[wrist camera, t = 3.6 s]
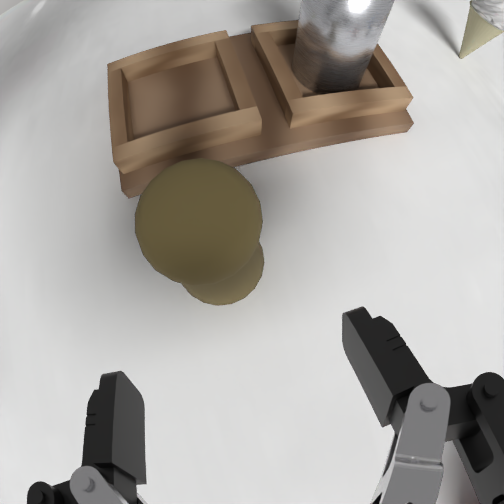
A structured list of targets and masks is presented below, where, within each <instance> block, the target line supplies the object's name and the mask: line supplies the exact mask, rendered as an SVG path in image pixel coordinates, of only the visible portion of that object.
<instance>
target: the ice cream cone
mask: <svg viewBox="0 0 504 504" xmlns="http://www.w3.org/2000/svg"><path fill="white" fill-rule="evenodd" d="M503 32H504V0H471V1H470V9H469V14H468V19H467V24H466V28H465V33H464V37H463V41H462V46H461V50H460V54H459V57H460V58H461V59H462V58H464V57H465V56H467V55H468V54H470V53H471V52H473V51H475V50H476V49H478V48H479V47H481V46H482V45H484V44H486V43H487V42H488V41H490V40H492V39H493V38H495V37H496V36H498V35H500V34H501V33H503Z"/></svg>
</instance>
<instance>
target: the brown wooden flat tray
mask: <svg viewBox="0 0 504 504" xmlns="http://www.w3.org/2000/svg"><path fill="white" fill-rule="evenodd" d="M298 22H299V20H294V21H284V22H275V23H267V24H260V25H253V26H251V33H247V34H242V35H236V36H231V37H229V36H228V34H227V31H226V30H224V31H219V32H214V33H210V34H205V35H201V36H196V37H192V38H188V39H184V40H181V41H177V42H173V43H170V44H166V45H163V46H159V47H156V48H153V49H149V50H146V51H143V52H140V53H137V54H134V55H131V56H128V57H125V58H123V59H120V60H117V61H114V62H112V63H109V64H107V67H108V99H109V117H110V131H111V143H112V154H113V162H114V164H115V165H116V166H117V167H118V168H119V174H120V182H121V189H122V192H123V193H124V194H125V195H126V196H127V197H128V198H131V197H134V196H137V195H140V194H142V193H143V192H144V190H145V188H146V187H147V185H148V184H149V182H150V181H151V180H152V179H153V178H154V177H156V176H157V175H158V174H159V173H160V172H162V171H163V170H164V169H165V168H167V167H169V166H172V165H174V164H176V163H178V162H181V161H184V160H191V159H198V158H204V159H210V160H217V161H220V162H223V163H225V164H227V165H229V166H231V167H236V166H240V165H244V164H248V163H252V162H256V161H260V160H265V159H269V158H273V157H277V156H282V155H286V154H290V153H295V152H300V151H304V150H309V149H314V148H318V147H323V146H328V145H333V144H339V143H344V142H349V141H355V140H360V139H366V138H372V137H378V136H384V135H391V134H397V133H404V132H407V131H408V130H409V129H410V128H411V126H412V125H413V124H414V123H413V121H412V119H411V117H410V115H409V113H408V112H407V110H406V108H407V106H408V105H409V103H410V102H411V100H412V99H413V96H412V95H411V93H410V91H409V90H408V88H407V86H406V85H405V83H404V82H403V80H402V79H401V77H400V75H399V74H398V72H397V71H396V69H395V68H394V66H393V65H392V63H391V62H390V61H389V59H388V58H387V56H386V55H385V53H384V52H383V51H382V49H381V48H380V46H379V45H378V44H377V45H376V47H375V50H374V52H373V54H372V57H371V59H370V62H369V64H368V66H367V69H366V71H365V73H364V76H363V78H362V80H361V83H360V85H359V87H358V88H357V90H355V91H347V92H339V93H331V94H324V95H321V94H318V93H315V92H313V91H311V90H309V89H307V88H306V87H304V86H303V85H302V84H301V83H300V82H299V81H298V80H297V79H296V77H295V76H294V73H293V70H292V63H293V56H294V49H295V42H296V36H297V29H298Z"/></svg>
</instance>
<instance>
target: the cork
mask: <svg viewBox="0 0 504 504" xmlns="http://www.w3.org/2000/svg"><path fill="white" fill-rule="evenodd" d="M262 222H263V221H262V213H261V206H260V201H259V199H258V197H257V195H256V193H255V191H254V189H253V187H252V185H251V184H250V183H249V181H248V180H246V179H245V178H244V177H243V176H242V175H241V174H240V173H239V172H238V171H237V170H236V169H235V168H233V167H231V166H229V165H227V164H225V163H223V162H220V161H217V160H210V159H204V158H198V159H191V160H184V161H181V162H178V163H176V164H174V165H172V166H169V167H167V168H165V169H164V170H163V171H162V172H160V173H159V174H158V175H157V176H156V177H154V178H153V179H152V180H151V181H150V182H149V184H148V185H147V187H146V188H145V190H144V192H143V193H142V195H141V196H140V199H139V202H138V206H137V209H136V212H135V233H136V236H137V239H138V242H139V245H140V247H141V250H142V253H143V255H144V257H145V258H146V259H147V260H148V262H149V263H150V264H151V265H152V266H153V268H154V269H155V270H156V271H158V272H159V273H161V274H163V275H164V276H166V277H168V278H169V279H171V280H173V281H175V282H179V283H182V285H183V286H184V287H185V288H186V290H187V291H188V292H189V293H190V294H191V295H192V296H193V297H195V298H197V299H198V300H200V301H202V302H204V303H208V304H213V305H227V304H232V303H235V302H237V301H239V300H241V299H243V298H245V297H246V296H247V295H248V294H249V293H250V292H251V291H253V290H254V289H255V287H256V285H257V283H258V282H259V280H260V278H261V276H262V271H263V266H264V258H263V250H262V247H261V245H260V243H259V238H260V233H261V228H262Z"/></svg>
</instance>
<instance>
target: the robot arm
mask: <svg viewBox="0 0 504 504" xmlns="http://www.w3.org/2000/svg"><path fill="white" fill-rule="evenodd" d="M342 342H343V347H344V350H345V353H346V356H347V358H348V360H349V362H350V364H351V365H352V367H353V369H354V371H355V373H356V375H357V377H358V379H359V381H360V383H361V385H362V387H363V389H364V391H365V393H366V395H367V397H368V399H369V401H370V403H371V405H372V408H373V410H374V412H375V414H376V416H377V418H378V420H379V422H380V424H381V426H382V427H384V426H387V425H389V424H391V425H392V427H393V429H394V431H395V432H394V435H393V439H392V442H391V446H390V450H389V453H388V456H387V460H386V463H385V466H384V469H383V472H382V475H381V478H380V481H379V483H378V485H377V488H376V490H375V493H374V495H373V498H372V501H371V503H370V504H436V500H437V496H438V493H439V489H440V485H441V481H442V476H443V464H442V463H441V458H442V453H443V448H444V443H445V442H447V441H451V440H453V443H454V445H455V447H456V449H457V451H458V453H459V456H460V458H461V460H462V462H463V464H464V467H465V469H466V471H467V473H468V476H469V478H470V480H471V483H472V485H473V488H474V490H475V492H476V495H477V497H478V500H479V502H480V504H504V379H503V378H502V377H501V376H500V375H498V374H496V373H492V372H486V373H483V374H481V375H479V376H478V377H477V378H476V379H475V381H474V382H473V384H468V385H462V386H457V387H450V388H447V387H442V386H440V385H438V384H435V383H433V382H432V381H431V380H430V379H429V378H428V376H427V375H426V373H425V372H424V370H423V369H422V367H421V366H420V364H419V363H418V361H417V359H416V358H415V356H414V355H413V353H412V352H411V350H410V349H409V347H408V346H406V343H405V341H404V340H403V338H402V337H400V334H399V333H398V331H397V330H396V328H395V327H394V325H393V324H392V323H391V322H389V321H388V320H386V319H385V318H383V317H382V316H379V317H376V318H373V319H372V317H371V316H370V314H369V313H368V311H367V310H366V309H365V308H364V307H360V308H357V309H354V310H351V311H348V312H345V313H343V315H342ZM85 425H86V427H85V434H84V445H83V458H82V465H81V467H80V468H78V469H77V470H76V471H75V472H74V473H73V474H72V476H71V479H70V480H69V481H66V482H63V483H60V484H57V485H54V486H51V485H49V484H47V483H45V482H41V481H40V482H36V483H34V484H33V485H32V486H31V487H30V488H29V491H28V494H27V504H147V503H146V502H145V501H144V500H143V498H142V497H141V496H140V495H139V494H138V493H137V488H136V485H138V484H147V483H146V463H145V408H144V401H143V398H142V395H141V394H140V392H139V391H138V390H137V388H136V387H135V386H134V385H133V384H132V382H131V381H130V380H129V379H128V377H127V376H126V375H125V374H124V373H123V372H122V371H117V372H112V373H106V374H103V375H102V376H101V378H100V385H99V389H98V390H94V391H93V393H92V395H91V397H90V399H89V401H88V407H87V417H86V424H85Z"/></svg>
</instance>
